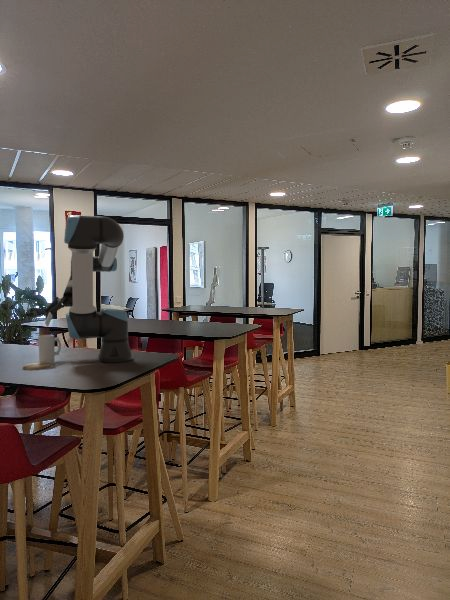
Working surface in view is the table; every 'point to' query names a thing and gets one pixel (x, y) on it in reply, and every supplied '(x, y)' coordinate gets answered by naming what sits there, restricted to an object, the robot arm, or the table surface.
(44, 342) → the mug
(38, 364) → the stand
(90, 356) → the table surface
